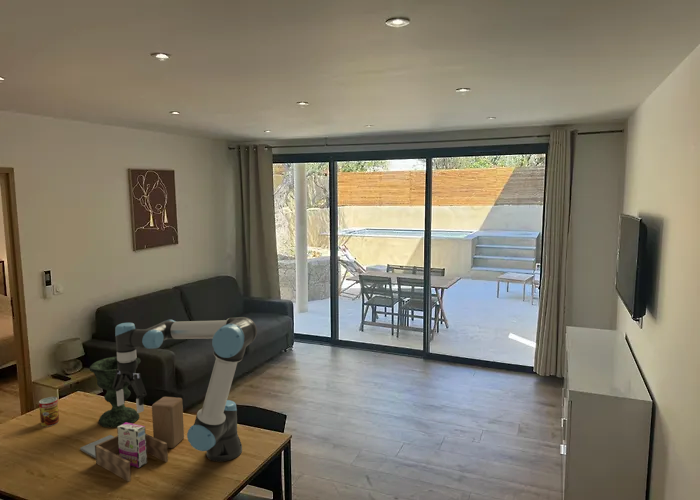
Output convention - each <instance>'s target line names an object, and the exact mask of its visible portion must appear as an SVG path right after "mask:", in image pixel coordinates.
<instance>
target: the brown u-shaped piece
mask: <svg viewBox="0 0 700 500" xmlns="http://www.w3.org/2000/svg"><path fill="white" fill-rule="evenodd" d="M146 451H147V454H148V455H150V456H153V457H154V458H157V459H159V460H161V461H163V462H165V463H167V462H168V461H169V457H168V448H167V443H165V442H163V441H161V440H159V439H156V438H154V436H153V435H150V434H147V433H146ZM95 455H96V458H95V463H96V464H97V465H98V466H99V467H101V468H103V469H105V470H107V471H109V472H111V473H113V474H114V475H116V476H117V477H119V478H121V479H123V480H124V481H126V482H131V481H132V477H131V466H130V461H128V460H126V459H124V458H122V457H120V456H119V446H118V435H116V436H114V437H113V438H111V439H109V440H106V441H104V442H102V443H99V444H97V445H95Z"/></svg>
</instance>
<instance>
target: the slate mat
mask: <svg viewBox="0 0 700 500" xmlns="http://www.w3.org/2000/svg"><path fill="white" fill-rule="evenodd" d="M113 437H115V436H114V435H111V434H109V435H107V436H104V437H102V438H99V439H97V440H95V441H92V442H90V443H88V444H85V445H83V446H81V447H80V448H79V450H80V451H82V452H83V453H86V454H87V455H89V456H91V457H92V458H95V459H96V455H95V445H97V444H99V443H102V442H104V441H106V440H109V439H111V438H113Z"/></svg>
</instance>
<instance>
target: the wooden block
mask: <svg viewBox="0 0 700 500" xmlns="http://www.w3.org/2000/svg"><path fill="white" fill-rule="evenodd" d="M183 407H184V406H183V398H182V397H174V396H162V397H161V398H160V399H158V400H156V401H155V402H154V403H153V404H152V405H151V414H152V415H151V416H152V419H151V420H152V432H153V435H152V437H154V438H156V439H159V440H161V441H163V442H165V443H167V449H173V448H175V447H176V446H177V445H179V443H180V442H182V440H184V439H185V428H184V426H185V425H184V408H183Z"/></svg>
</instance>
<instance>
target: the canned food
mask: <svg viewBox="0 0 700 500" xmlns="http://www.w3.org/2000/svg"><path fill="white" fill-rule="evenodd" d="M58 404H59V400H58V397H57V396H49V397H45V398H41V399H40V400H39V401H38V407H39V419H40V426H42V427H43V426H45V427H46V428H47V426H48V427H52V425H53V426H55V425H57V424H59V423H60V413H59V405H58ZM45 427H44V428H45Z"/></svg>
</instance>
